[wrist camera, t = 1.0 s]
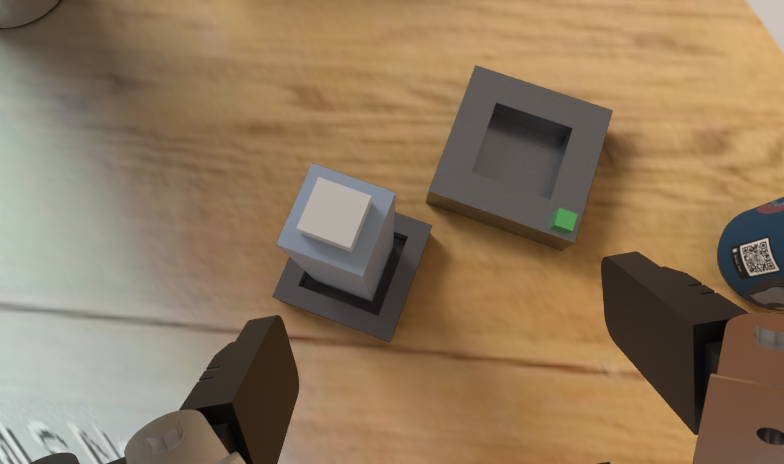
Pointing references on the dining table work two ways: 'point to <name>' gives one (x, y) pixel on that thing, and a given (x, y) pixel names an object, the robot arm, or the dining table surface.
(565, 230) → the port
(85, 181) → the dining table surface
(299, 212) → the plug
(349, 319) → the holster
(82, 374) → the dining table surface
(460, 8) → the dining table surface
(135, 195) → the dining table surface
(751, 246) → the soda can
